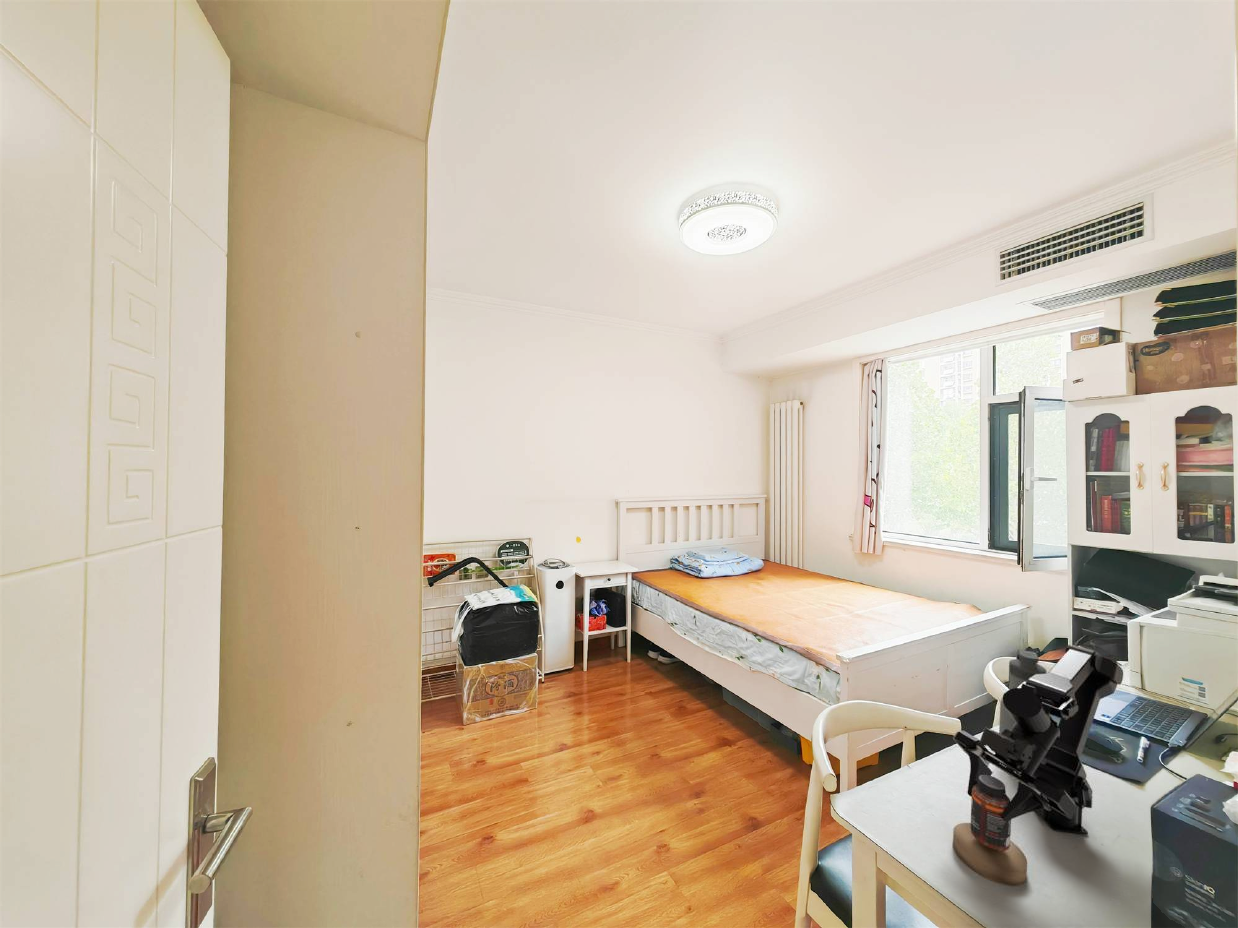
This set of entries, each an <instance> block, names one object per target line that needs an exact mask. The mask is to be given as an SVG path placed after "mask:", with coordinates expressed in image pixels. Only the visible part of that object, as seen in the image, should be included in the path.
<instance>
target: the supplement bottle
mask: <svg viewBox="0 0 1238 928" xmlns="http://www.w3.org/2000/svg"><path fill="white" fill-rule="evenodd" d="M970 801H971V802H970V803H971V805H970V823H971V833H972V835H973V836H974V837H975V838H976V839H977V840H978V841H979V842H980V843H982V844H983V845H985V846H987V847H989V848H991V849H994V850H998V851H1005V850H1008V849H1009V847H1010V840H1011V831H1012V830H1011V829H1012V826H1011V824H1012V819H1011V820H1008V821H1004V820H1003V819H1002V817H1001V816H1002V814H1003V812H1004V810H1005V808H1006V807H1007V806H1008V804H1009V803H1010V801H1011V798H1010V797H1009V796H1008V795H1007V793H1006V784H1005V783H1004V782H1003V781H1001V780H1000V779H999V778H996V777H994V776H992V775H991V776H989V775H980V776H979V781H978V784H976V785H974V786H973V788H972V797H971V799H970Z"/></svg>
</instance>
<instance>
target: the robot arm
mask: <svg viewBox="0 0 1238 928" xmlns="http://www.w3.org/2000/svg"><path fill="white" fill-rule="evenodd" d="M1123 679H1124V670H1123V668H1122V667H1121V666H1120V665H1119V664H1118V663H1117V662H1116V661H1114V660H1111V659H1110V658H1107V657H1105V656H1104V655H1102V654H1101V653H1100V652H1097V651H1096V650H1094V649H1090V648H1085V647H1083V646H1078V645H1075V644H1072V645H1071V644H1068V645H1067V646H1066V649H1065V653H1064V654H1063V655H1062V656H1061V658H1060V659H1059V660H1057V662H1056V663H1055V665H1053V666H1052V667H1051V669H1050V670H1049V671H1047V672H1046V674H1035V675H1034V676H1032V677H1031V678H1029V679H1028V680H1027V681H1025V682H1023V683H1022V684H1021V685H1020V686H1019V687H1017V688H1013V689H1010V690H1009V689H1008V690H1007V691H1006V692H1004V693H1003V695H1002V698H1003V703H1004V706H1005V707H1006V709H1007V711H1008V712H1009V714H1010V716H1011V717H1012V719H1013V720H1014V722H1015V724H1014V726H1013V728H1012V729H1011V731H1009V730H1007V729H1005V730H1004V731H1003V732H1002V733H1001V734H1000V733H999V732H998V731H995V730H994V729H991V728H988V727H984V728H983V731H982V734H981V737H980V739H978V738H976V736H974V735H971V734H970V733H968V732H967V731H965V730H959V731H957V732H955V734H954V735H953V737H952V740H953V742H955V743H956V744H957V746H959V748H960V749H961V750H962V751H963V752H964V753H965V754H966V755H967V756H968V758H969V763H970V769H969V770H970V771H969V779H968V786H967V795H969V797H971V798H972V788H973V786H974V785H976V784H978V781H979V776H980V775H989V776H992V774H993V773H994V771H992V770H991V768H989V765H990V764H992V765H993V766H994V767H996V768H998V769H1000V770H1001V771H1003V772H1005V774H1008V775H1009V776H1011V777H1013V779H1016V780H1018V784H1017V789H1016V793H1015V794H1014V796H1013V797H1012V798H1011V799H1010V803H1009V804H1008V806H1007V807H1006V808H1005V810H1004V812H1003V814H1002V816H1001V817H1002V819H1003V820H1004V821H1008V820H1011V821H1012V819H1015V818H1018V817H1020V816H1022V815H1026V814H1028V813H1031V812H1035V813H1036V814H1037V815H1038V816H1039V817H1040V819H1042V820H1043V821H1044V822H1045V823H1046V824H1047V826H1049V827H1050V829H1052V830H1053V831H1056V832H1057V831H1058V832H1064V833H1072V834H1073V833H1074V834H1080V835H1088V834H1089V831H1088V830H1087V829H1086V828H1085V827H1084V826H1083V825H1082V824H1083V823H1082V822H1083V810H1084V809H1085V808H1088V809H1092V808H1093V789H1092V787H1091V786H1090V784H1089V781H1088V780H1087V773H1086V770H1085V768H1084V765H1083V763H1082V760H1081V759H1082V758H1081V757H1082V754H1083V751H1084V749H1085V745H1086V742H1087V739H1088V737H1089V734H1090V730H1091V727H1092V725H1093V722H1094V719H1095V716H1096V712H1097V710H1098V707H1099V704H1100V701H1101V700H1102V699H1104V698H1106V697H1109V696H1111V695H1114V693H1115V691H1116V689H1117V686H1120V685H1121V684H1122V682H1123ZM1049 714H1051V715H1052V718H1051V717H1049ZM1053 717H1056V718H1058V719H1060V720H1059V722H1057V721H1055V720H1054V719H1053ZM987 747H988V748H989V749H988V748H987ZM990 750H991V751H990ZM993 752H994V753H993Z"/></svg>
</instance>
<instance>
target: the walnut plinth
mask: <svg viewBox="0 0 1238 928" xmlns="http://www.w3.org/2000/svg"><path fill="white" fill-rule="evenodd" d="M952 831H953V832H952V833H953V834H952V847H953V850H954V852H955V855H957V856H958V858H959V859H960V861H962V862H963V863H964V864H965V865H966V866H967V867H968V868H970V869H971V870H972V871H974V872H975V873H977V874H979V875H980V876H982V877H984V878H985V879H988V880H990V881H992V882H994V883H998V884H1001V885H1006V886H1019V885H1022V884H1024V883H1025V882H1026V880H1027V877H1028V876H1027V875H1028V860H1027V857H1026V855H1025V854H1024V852H1023V851H1022V850H1021V848H1020V847H1019V846H1018V845H1017V844H1016V843H1014V842H1013V841H1012V840H1011V839H1010V847H1009V849H1008V850H1005V851H998V850H994V849H991V848H989V847H987V846H985V845H983V844H982V843H980V842H979V841H978V840H977V839H976V838H975V837H974V836H973V835H972V833H971V822H961V823H958V824H956V825H955V826H954V827H953V829H952Z"/></svg>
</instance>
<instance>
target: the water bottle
mask: <svg viewBox="0 0 1238 928" xmlns="http://www.w3.org/2000/svg"><path fill="white" fill-rule="evenodd" d="M1008 664H1009V665H1008V667H1009V668H1008V687H1009V688H1008V690H1010V689H1013V688H1017V687H1019V686H1020V685H1021V684H1022V683H1023V682H1025V681H1027V680H1028V679H1029V678H1031V677H1032V676H1034V675H1035V674H1047V670H1046V668H1045V667H1044V666H1042V665H1041V664H1039V656H1038V654H1037V652H1035V651H1030V650H1029V651H1028V650H1024V649H1020V648H1017V651H1016V657H1015V659H1010V660H1009V663H1008ZM1049 717H1051V718H1052V719H1053V715H1051V714H1049ZM1014 724H1015V722H1014V720H1013V719H1012V717H1011V716H1010V714H1009V712H1008V711H1007V709H1006V707H1005V706H1004V703H1003V697H1002V698H1001V699H1000V707H999V726H998V731H999V732H998V733H1000V734H1001V733H1002V732H1003V731H1004V730H1005V729H1007V730H1009V731H1011V729H1012V728H1013V726H1014Z"/></svg>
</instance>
